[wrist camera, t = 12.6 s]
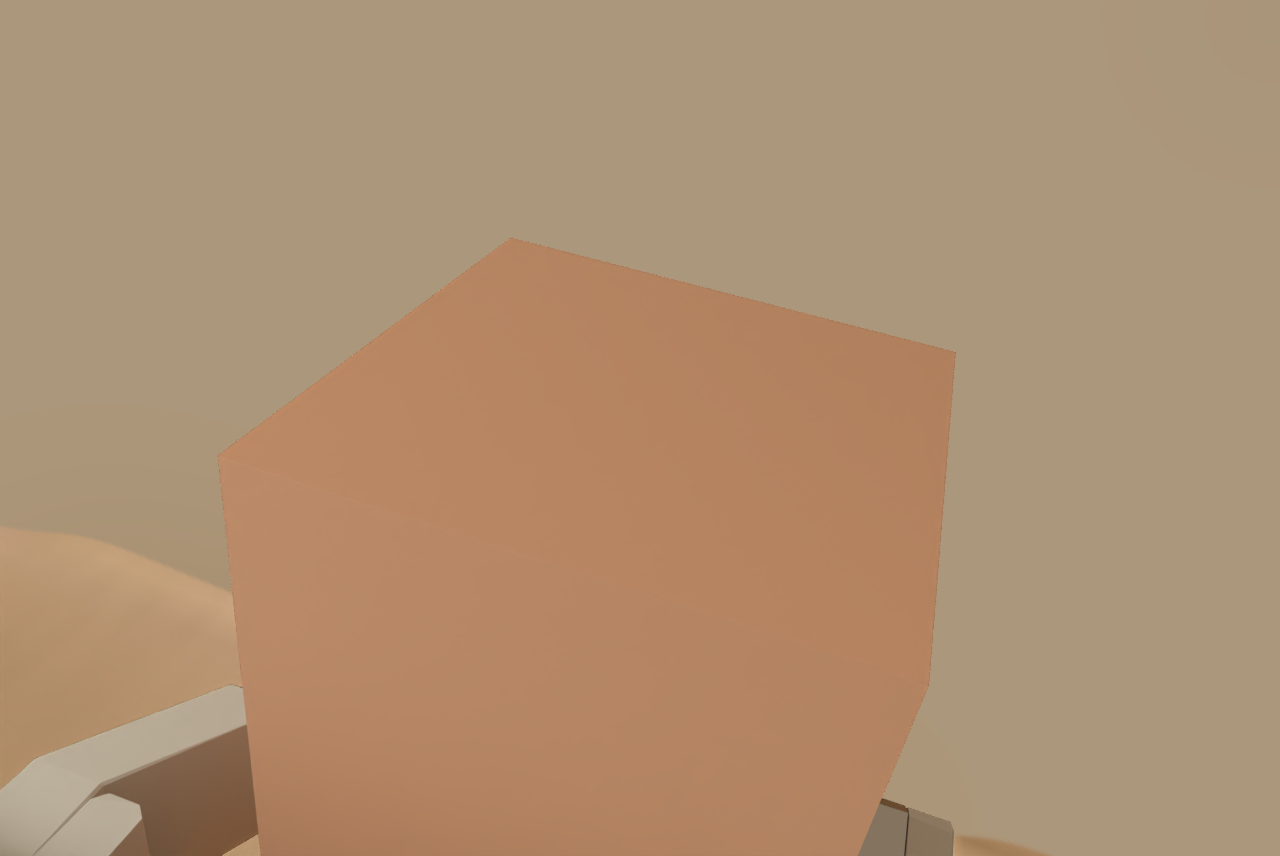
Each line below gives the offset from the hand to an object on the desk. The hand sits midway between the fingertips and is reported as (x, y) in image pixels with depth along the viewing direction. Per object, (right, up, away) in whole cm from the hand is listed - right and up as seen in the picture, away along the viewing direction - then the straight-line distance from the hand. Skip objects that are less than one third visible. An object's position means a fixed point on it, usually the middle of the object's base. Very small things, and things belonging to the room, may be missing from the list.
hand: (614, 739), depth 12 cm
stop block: (-1, -6, +3) cm, 7 cm away
